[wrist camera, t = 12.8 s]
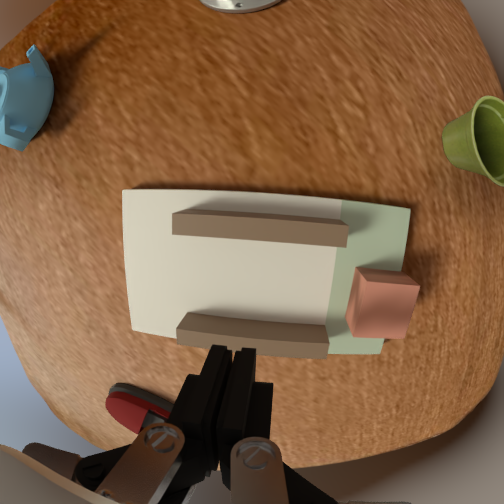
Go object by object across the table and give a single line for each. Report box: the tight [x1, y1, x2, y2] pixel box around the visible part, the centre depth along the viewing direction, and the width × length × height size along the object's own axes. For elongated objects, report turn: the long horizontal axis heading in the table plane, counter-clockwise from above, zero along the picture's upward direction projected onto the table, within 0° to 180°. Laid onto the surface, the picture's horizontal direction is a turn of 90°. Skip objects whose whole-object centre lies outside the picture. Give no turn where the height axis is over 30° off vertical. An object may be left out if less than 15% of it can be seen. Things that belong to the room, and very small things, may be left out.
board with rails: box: [122, 189, 411, 359], centre depth 29 cm, size 18×32×6 cm, turn 87°
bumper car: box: [106, 383, 174, 434], centre depth 36 cm, size 10×20×10 cm, turn 68°
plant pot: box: [442, 96, 504, 187], centre depth 21 cm, size 9×9×9 cm
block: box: [345, 267, 420, 339], centre depth 27 cm, size 6×6×4 cm
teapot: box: [0, 45, 54, 151], centre depth 24 cm, size 15×15×11 cm
